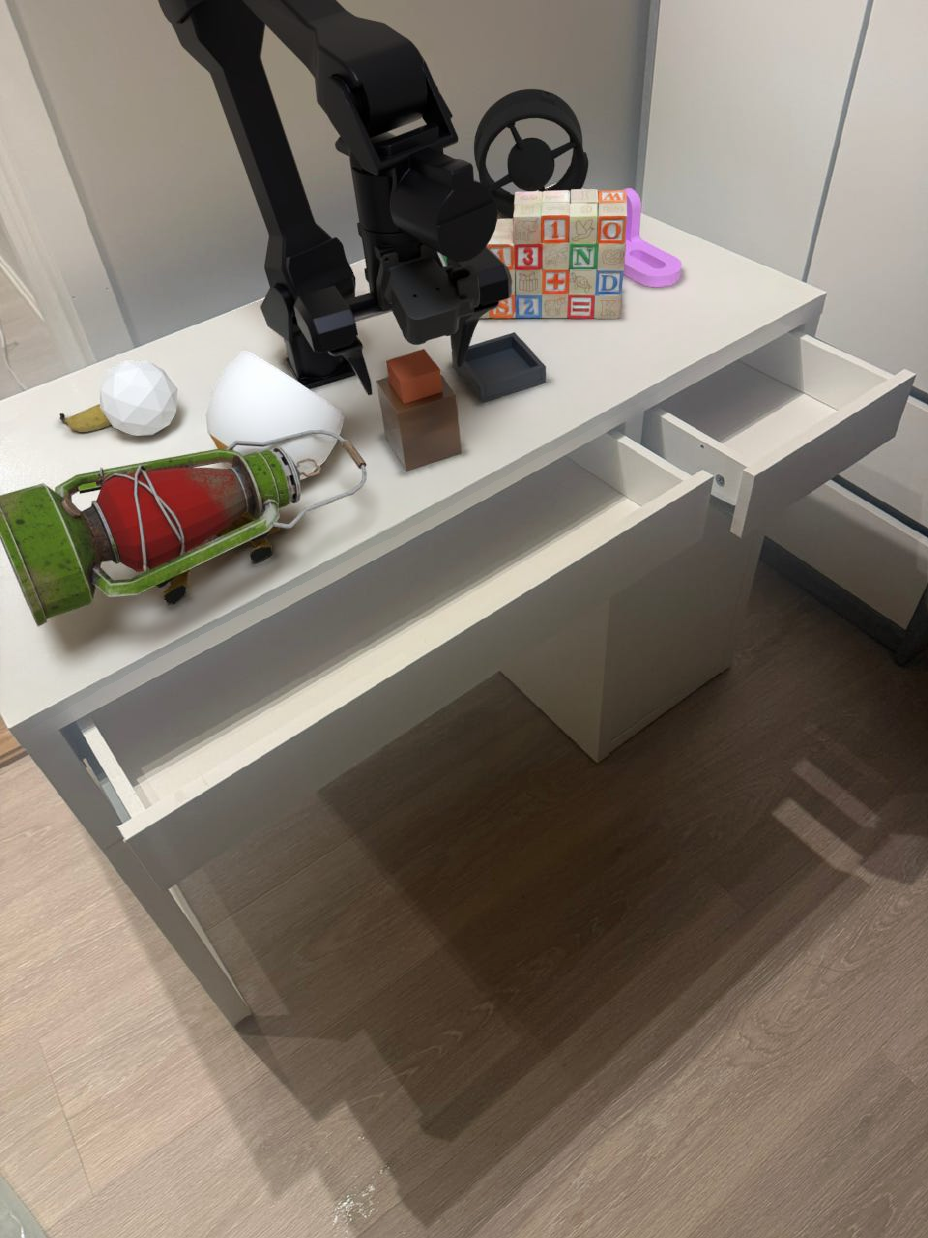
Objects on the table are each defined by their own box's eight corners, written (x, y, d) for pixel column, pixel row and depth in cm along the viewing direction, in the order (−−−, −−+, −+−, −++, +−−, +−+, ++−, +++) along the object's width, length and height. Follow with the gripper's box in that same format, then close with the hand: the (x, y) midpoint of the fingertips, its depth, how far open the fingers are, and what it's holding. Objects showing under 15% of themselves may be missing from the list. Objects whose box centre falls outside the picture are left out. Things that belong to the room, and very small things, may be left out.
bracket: (585, 252, 117) (586, 197, 112) (618, 237, 119) (621, 183, 114) (655, 292, 109) (660, 235, 104) (690, 275, 111) (696, 219, 106)
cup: (159, 420, 84) (214, 329, 83) (225, 455, 96) (274, 375, 95) (261, 488, 81) (319, 393, 80) (317, 514, 92) (367, 432, 92)
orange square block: (403, 404, 86) (400, 381, 85) (388, 382, 89) (385, 360, 87) (442, 391, 87) (440, 369, 85) (427, 370, 90) (424, 348, 88)
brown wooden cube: (406, 471, 91) (397, 413, 86) (385, 438, 95) (375, 380, 89) (461, 452, 92) (456, 394, 87) (439, 420, 96) (432, 362, 91)
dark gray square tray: (481, 403, 97) (480, 387, 96) (452, 366, 102) (451, 351, 101) (546, 382, 99) (546, 366, 98) (515, 347, 104) (514, 331, 102)
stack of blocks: (438, 320, 109) (428, 217, 99) (444, 292, 113) (435, 191, 104) (621, 318, 106) (628, 213, 97) (620, 290, 110) (627, 187, 101)
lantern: (-36, 453, 69) (323, 357, 82) (2, 545, 78) (322, 446, 90) (21, 583, 63) (400, 459, 75) (55, 668, 72) (391, 544, 84)
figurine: (294, 550, 85) (235, 464, 92) (279, 507, 80) (217, 419, 87) (144, 627, 81) (93, 532, 88) (118, 587, 76) (66, 489, 83)
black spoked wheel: (462, 220, 119) (460, 183, 126) (566, 248, 123) (559, 211, 129) (497, 107, 109) (493, 73, 115) (610, 142, 112) (599, 107, 119)
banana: (156, 416, 99) (154, 399, 102) (147, 396, 98) (146, 380, 101) (63, 443, 98) (65, 426, 101) (53, 423, 97) (55, 406, 100)
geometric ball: (167, 435, 102) (184, 365, 99) (167, 454, 95) (186, 379, 92) (94, 415, 99) (111, 342, 96) (89, 433, 92) (106, 355, 89)
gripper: (315, 291, 69) (349, 456, 80) (538, 228, 73) (540, 394, 84) (274, 230, 76) (311, 390, 87) (481, 176, 80) (489, 336, 91)
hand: (414, 378), depth 87 cm, fingers open, 9 cm apart
